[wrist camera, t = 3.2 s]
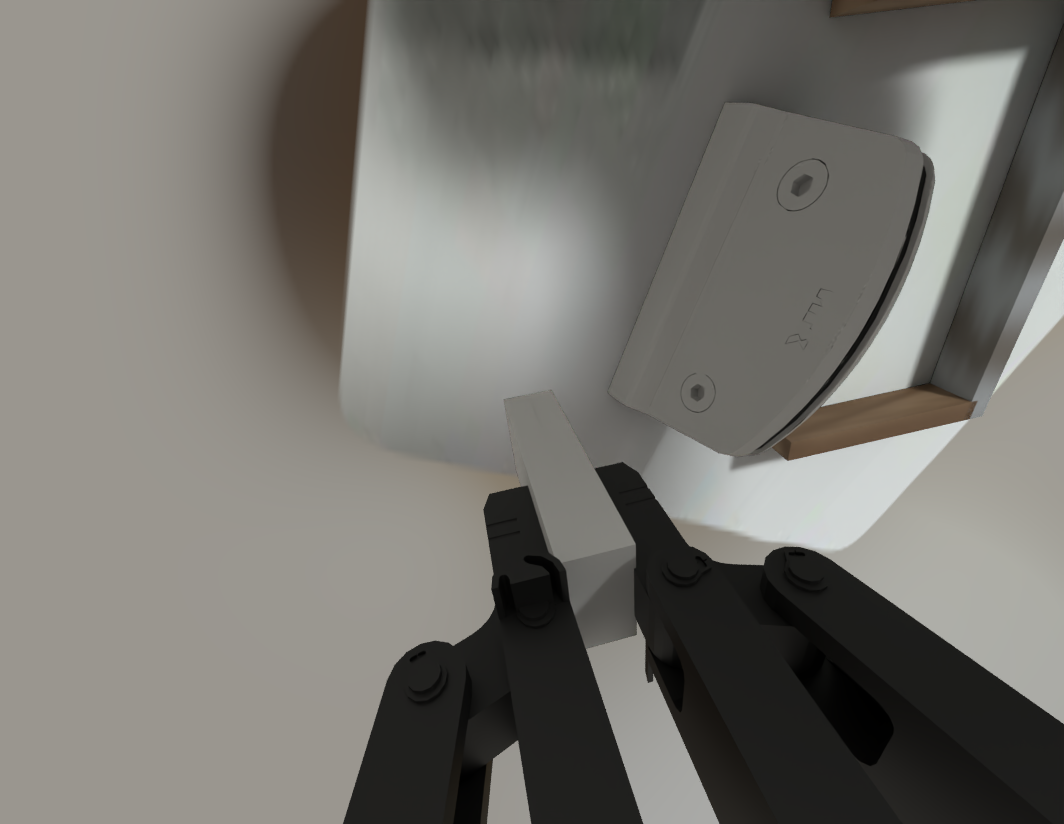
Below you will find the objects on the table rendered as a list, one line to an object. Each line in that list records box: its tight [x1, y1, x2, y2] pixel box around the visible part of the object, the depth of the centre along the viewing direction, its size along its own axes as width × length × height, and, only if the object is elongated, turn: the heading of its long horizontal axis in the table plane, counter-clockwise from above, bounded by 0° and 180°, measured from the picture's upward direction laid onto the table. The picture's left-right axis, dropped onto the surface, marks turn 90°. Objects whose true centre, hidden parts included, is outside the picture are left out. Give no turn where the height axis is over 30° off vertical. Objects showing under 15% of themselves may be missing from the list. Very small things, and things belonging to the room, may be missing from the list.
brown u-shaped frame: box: [772, 0, 1064, 461], centre depth 26 cm, size 25×15×3 cm, turn 7°
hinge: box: [608, 102, 935, 457], centre depth 23 cm, size 17×5×10 cm, turn 163°
